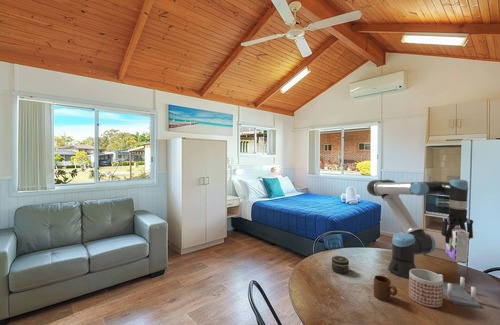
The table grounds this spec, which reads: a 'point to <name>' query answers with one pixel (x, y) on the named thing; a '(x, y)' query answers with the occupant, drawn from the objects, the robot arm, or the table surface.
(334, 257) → the jar
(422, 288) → the planter
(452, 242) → the candy box
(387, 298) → the mug
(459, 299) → the tray
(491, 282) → the table surface
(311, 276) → the table surface
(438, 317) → the table surface
